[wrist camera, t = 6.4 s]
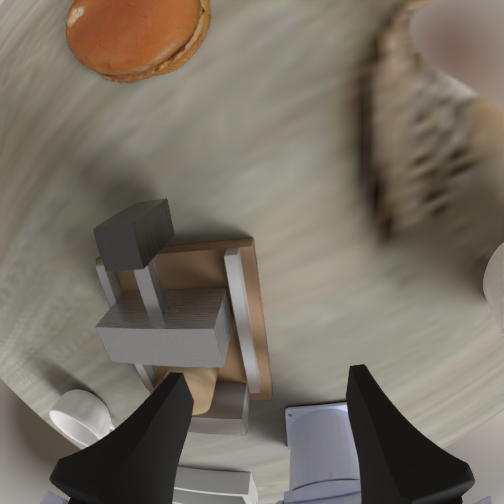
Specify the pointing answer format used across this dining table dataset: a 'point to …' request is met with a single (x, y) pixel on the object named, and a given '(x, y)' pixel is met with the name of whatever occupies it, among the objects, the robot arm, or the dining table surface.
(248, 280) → the bench
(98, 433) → the teacup
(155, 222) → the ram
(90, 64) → the burger
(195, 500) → the box
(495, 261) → the white plant pot
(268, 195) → the dining table surface
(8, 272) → the dining table surface
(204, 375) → the nut
